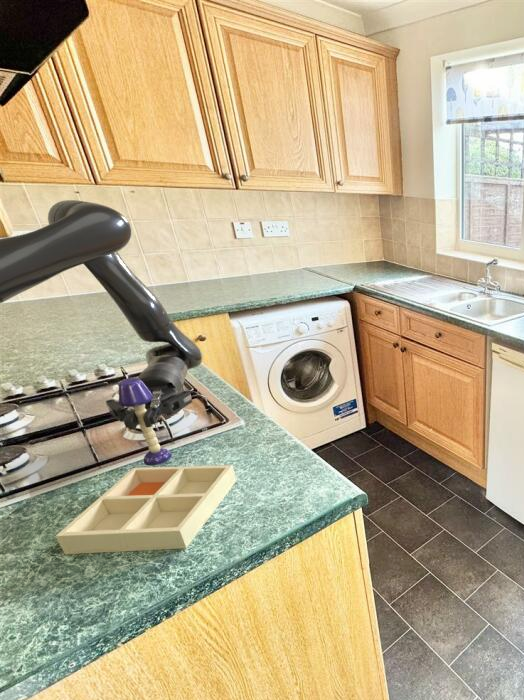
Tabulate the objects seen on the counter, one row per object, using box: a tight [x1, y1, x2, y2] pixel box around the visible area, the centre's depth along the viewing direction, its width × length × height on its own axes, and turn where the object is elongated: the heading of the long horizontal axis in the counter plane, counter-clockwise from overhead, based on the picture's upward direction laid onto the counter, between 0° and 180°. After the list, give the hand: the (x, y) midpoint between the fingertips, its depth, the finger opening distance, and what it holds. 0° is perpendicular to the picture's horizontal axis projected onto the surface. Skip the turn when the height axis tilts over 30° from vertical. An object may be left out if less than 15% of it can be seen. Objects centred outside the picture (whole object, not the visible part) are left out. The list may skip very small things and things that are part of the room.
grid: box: [55, 464, 238, 555], centre depth 69 cm, size 16×16×4 cm
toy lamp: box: [118, 377, 173, 466], centre depth 77 cm, size 5×5×17 cm
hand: (138, 423), depth 75 cm, fingers closed on toy lamp
